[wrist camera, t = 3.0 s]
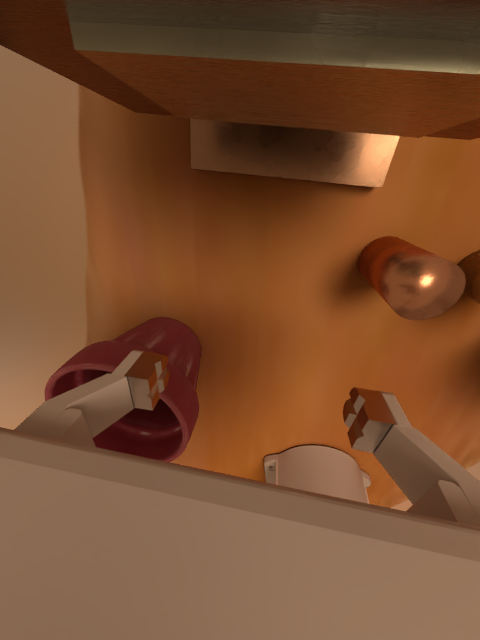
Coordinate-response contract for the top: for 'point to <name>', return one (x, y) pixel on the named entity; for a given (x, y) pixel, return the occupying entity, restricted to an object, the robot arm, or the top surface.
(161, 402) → the plant pot
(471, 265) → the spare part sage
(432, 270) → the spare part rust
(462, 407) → the top surface
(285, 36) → the mounted unit
